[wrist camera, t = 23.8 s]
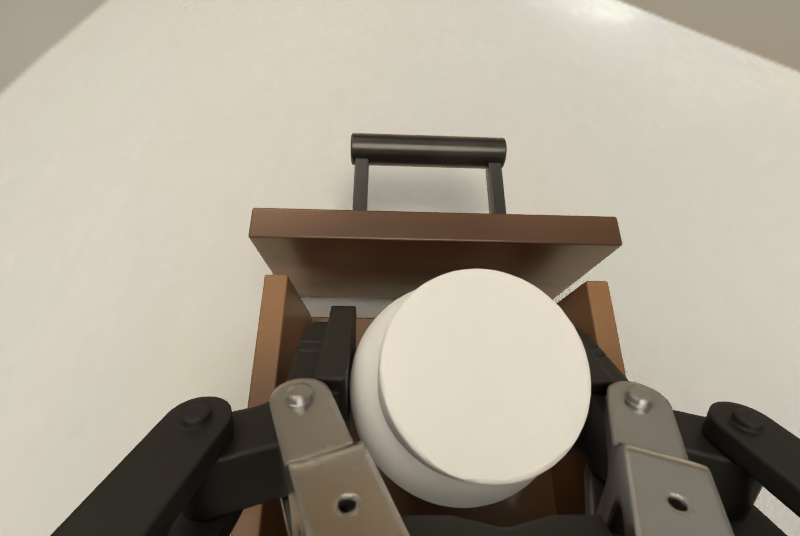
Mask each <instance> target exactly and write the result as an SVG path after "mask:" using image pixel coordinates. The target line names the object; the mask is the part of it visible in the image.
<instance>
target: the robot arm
mask: <svg viewBox="0 0 800 536" xmlns="http://www.w3.org/2000/svg"><path fill="white" fill-rule="evenodd" d="M574 327H575V329H576V331H577V333H578V335H579V337H580V339H581V341H582V343H583V346H584V348H585V352H586V355H587V359H588V363H589V369H590V377H591V397H590V405H589V410H588V415H587V418H586V421H585V423H584V426H583V428H582V430H581V432H580V434H579V436H578V438H577V440H576V441H575V443H574V444H573V446H572V448H571V449H570V450H569V451H568V452H567V455H585V457H586V459H587V463H586V466H585V470H584V493H585V515H550V516H546V517H543V518H539V519H536V520H532V521H529V522H526V523H522V524H519V525H515V526H512V527H498V526H494V525H490V524H486V523H482V522H477V521H473V520H469V519H465V518H461V517H456V516H452V515H401V516H400V514H399V512H398V510H397V508H396V506H395V504H394V502H393V500H392V498H391V496H390V494H389V492H388V489H387V487H386V485H385V483H384V481H383V479H382V477H381V475H380V473H379V471H378V469H377V467H376V465H375V463H374V461H373V459H372V457H371V455H370V453H369V450H368V449H367V447H366V445H365V444H364V443H363V442H362V441H359V442H356V443H354V441H353V439H352V437H351V435H350V433H349V427H350V417H351V406H350V395H349V384H350V374H351V367H352V363H353V359H354V356H355V353H356V306H332V307H331V311H330V315H329V320H328V322H313V323H312V324H311V325H310V326H308V327H307V328H306V329H305V330H304V332H303V334H302V337H301V340H300V343H299V346H298V349H297V352H296V355H295V358H294V361H293V364H292V367H291V370H290V373H289V376H288V379H287V382H284V383H283V384H281V385H279V386H278V387H277V388H276V389H275V390H274V391H273V392H272V394H271V396H270V399H269V401H268V402H266V403H264V404H262V405H259V406H255V407H252V408H247V409H243V410H238V411H233V412H232V410H231V406H230V404H229V403H228V402H227V401H225V400H224V399H221V398H218V397H199V398H195V399H191V400H188V401H186V402H184V403H181V404H180V405H178V406H176V407H175V408H173V409H172V410H171V411H170V412H169V413H167V414H166V416H165V417H164V418H163V419H162V420H161V421H160V422H159V423H158V424H157V425H156V426H155V427H154V428H153V429H152V430H151V431H150V432H149V433H148V434H147V435H146V436H145V437H144V438H143V439H142V441H141V442H140V443H139V444H138V445H137V446H136V447H135V448H134V449H133V450H132V451H131V452H130V453H129V454H128V455H127V456H126V457H125V458H124V459H123V460H122V461H121V462H120V463H119V465H118V466H117V467H116V468H115V469H114V470H113V471H112V472H111V473H110V474H109V475H108V476H107V477H106V478H105V479H104V480H103V481H102V482H101V483H100V484H99V485H98V486H97V487H96V488H95V490H94V491H93V492H92V493H91V494H90V495H89V496H88V497H87V498H86V499H85V500H84V501H83V502H82V503H81V504H80V505H79V506H78V507H77V508H76V509H75V510H74V511H73V512H72V514H71V515H70V516H69V517H68V518H67V519H66V520H65V521H64V522H63V523H62V524H61V525H60V526H59V527H58V528H57V529H56V530H55V531H54V532H53V533H52V534H51V535H50V536H230V534H231V532H232V530H233V528H234V527H235V525H236V523H237V521H238V519H239V518H240V516H241V514H242V512H243V510H244V509H246V508H249V507H253V506H256V505H259V504H263V503H266V502H269V501H273V500H276V499H279V498H280V501H281V506H282V510H283V515H284V519H285V524H286V529H287V533H288V536H787V535H786V534H785V533H784V532H783V531H782V530H781V529H780V528H778V527H777V526H776V525H775V524H774V523H773V522H772V521H771V520H770V519H769V518H767V517H766V516H765V515H764V514H763V513H762V512H761V511H760V510H759V509H758V508H756V507H755V506H754V505H753V504H754V502H755V500H756V498H757V496H758V494H759V493H760V491H761V489H762V487H765V488H766V489H767V490H768V491H769V492H770V493H772V494H773V495H774V496H775V497H776V498H777V499H779V500H780V501H781V502H782V503H783V504H785V505H786V506H787V507H788V508H789V509H790V510H792V511H793V512H794V513H795V514H796V515H797V516H799V517H800V439H799V438H798V437H796V436H795V435H793V434H792V433H790V432H789V431H787V430H786V429H785V428H783V427H782V426H780V425H779V424H777V423H776V422H775V421H773V420H772V419H770V418H769V417H767V416H766V415H764V414H762V413H760V412H758V411H756V410H754V409H752V408H749V407H747V406H744V405H741V404H737V403H732V402H716V403H714V404H712V405H711V406H710V408H709V411H708V413H707V416H706V417H702V416H698V415H693V414H689V413H684V412H680V411H675V410H672V407H671V405H670V403H669V402H668V400H667V399H666V398H665V397H664V396H662V395H661V394H660V393H658V392H657V391H655V390H653V389H652V388H649V387H647V386H645V385H642V384H639V383H635V382H630V381H628V380H627V378H626V377H625V376H624V375H623V374H622V373H621V371H620V370H619V369H618V368H617V367H616V365H615V364H614V363H613V362H612V361H611V359H610V358H609V357H606V354H605V352H604V351H603V350H602V349H601V348H599V345H598V344H597V343H596V342H595V341H594V339H593V338H592V337H591V336H590V335H589V334H587V333H586V332H584V331H583V330H581V329H579V328H578V327H576V326H574Z"/></svg>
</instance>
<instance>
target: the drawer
mask: <svg viewBox="0 0 800 536" xmlns="http://www.w3.org/2000/svg"><path fill="white" fill-rule="evenodd" d="M506 151H507V147H506V141H505V139H504V138H489V137H459V136H428V135H397V134H366V133H353V134H352V135H351V162H352V164H353V165H355V173H354V193H353V210H319V209H279V208H253V210H252V216H251V223H250V229H249V238H250V240H251V241H252V243H253V244H254V246H255V247H256V249H257V250H258V252H259V253H260V255H261V256H262V258H263V259H264V261H265V262H266V264H267V265H268V267H269V268H270V270H271V271H272V273H273V274H274V275H265V279H264V287H263V294H262V302H261V310H260V317H259V325H258V332H257V340H256V348H255V355H254V363H253V370H252V378H251V386H250V393H249V401H248V408H252V407H255V406H259V405H262V404H264V403H266V402H268V401H269V399H270V396H271V394H272V392H273V391H274V390H275V389H276V388H277V387H278V386H279V385H281V384H283V383H284V382H287V379H288V376H289V373H290V370H291V367H292V364H293V361H294V358H295V355H296V352H297V349H298V346H299V343H300V340H301V337H302V334H303V332H304V330H305V329H306V328H307V327H308V326H310V325H311V324H312V323H313V322H328V320H329V317H311V315H310V313H309V311H308V310H307V308H306V306H305V304H304V303H303V301H302V299H301V298H300V296H301V297H361V298H400V297H402V296H403V295H405V294H407V293H409V292H412V291H414V290H416V289H417V288H419V287H420V286H421V285H423V284H424V283H426V282H428V281H430V280H432V279H434V278H436V277H438V276H440V275H443V274H446V273H449V272H452V271H458V270H464V269H489V270H496V271H500V272H504V273H507V274H510V275H513V276H515V277H518V278H521V279H523V280H525V281H527V282H528V283H530V284H532V285H534V286H535V287H537V288H539V289H540V290H541V291H543V292H544V293H545V294H546V295H547V296H549V297H550V298H551V299H552V300H553V299H554V298H555V297H556V296H558V295H559V294H560V293H562V292H563V291H564V290H565V289H567V288H568V287H569V286H570V285H572V284H573V283H574V282H576V281H577V280H578V279H579V278H581V277H582V276H583V275H585V274H586V273H587V272H588V271H590V270H591V269H592V268H593V267H595V266H596V265H597V264H599V263H600V262H601V261H602V260H604V259H605V258H606V257H607V256H609V255H610V254H611V253H613V252H614V251H615V250H616V249H618V248H619V247H620V246H621V245H622V241H621V236H620V232H619V227H618V222H617V218H616V217H600V216H560V215H520V214H506V207H505V197H504V188H503V178H502V167H503V166H504V163H505V159H506ZM369 165H378V166H412V167H446V168H480V169H486V180H487V191H488V202H489V214H479V213H439V212H399V211H367V205H368V178H369ZM557 305H558V306H559V307H560V308H561V309H562V310H563V312H564V313H565V314H566V316H567V317H568V319H569V320H570V321H571V323H572V324H573V326H576V327H578V328H579V329H581V330H583V331H584V332H586V333H587V334H589V335H590V336H591V337H592V338H593V339H594V341H595V342H596V343H597V344H598V345H599V348H601V349H602V350H603V351H604V352H605V354H606V357H609V358H610V359H611V361H612V362H613V363H614V364H615V365H616V367H617V368H618V369H619V370H620V371H621V373H622V374H623V375H624V376H625V377H626V375H625V369H624V364H623V359H622V354H621V349H620V344H619V338H618V333H617V328H616V323H615V318H614V313H613V307H612V302H611V297H610V292H609V287H608V283H607V282H606V281H586V282H585V283H584V284H582V285H581V286H579V287H578V288H577V289H575V290H574V291H573V292H571V293H570V294H569V295H567V296H566V297H565V298H563V299H562V300H561V301H559V302H558V303H557ZM374 319H375V318H356V350H357V348H358V345H359V343H360V341H361V339H362V337H363V335H364V333H365V332H366V330H367V328H368V327H369V326H370V324H371V323H372V322H373V320H374ZM349 433H350V435H351V437H352V439H353V441H354V443H356V442H359V441H361V440H360V438H359V436H358V433H357V431H356V428H355V424H354V421H353V417H352V412H351V417H350V427H349ZM374 463H375V462H374ZM586 463H587V459H586V457H585V455H567V454H566V455H565V456H564V457H563V458H562V459H561V460H560V461H558V462H557V463H556V464H555V465H554V466H552V467H551V468H549V469H548V470H546V471H545V472H543V473H542V474H540V475H538V476H537V477H536V478H535V479H534V480H533V481H532V482H530V483H529V484H528V485H527V486H526V487H524V488H523V489H521V490H520V491H518V492H517V493H515V494H514V495H512V496H510V497H508V498H506V499H504V500H502V501H499V502H496V503H493V504H489V505H485V506H480V507H472V508H455V507H447V506H441V505H437V504H434V503H431V502H427V501H425V500H423V499H420V498H418V497H416V496H414V495H412V494H410V493H409V492H407V491H405V490H404V489H402V488H401V487H400V486H398V485H397V484H396V483H395V482H393V481H392V480H391V479H390V478H389V477H387V476H386V475H385V474H384V473H383V472H382V470H381V469H380V468H379V467H378V466H377V465H376V464H375V465H376V467H377V469H378V471H379V473H380V475H381V477H382V479H383V481H384V483H385V485H386V487H387V489H388V492H389V494H390V496H391V498H392V500H393V502H394V504H395V506H396V508H397V510H398V512H399V514H400V516H401V515H452V516H456V517H461V518H465V519H469V520H473V521H477V522H482V523H486V524H490V525H494V526H498V527H512V526H515V525H519V524H522V523H526V522H529V521H532V520H536V519H539V518H543V517H546V516H550V515H585V493H584V470H585V466H586ZM231 536H288V533H287V529H286V524H285V519H284V515H283V510H282V506H281V501H280V498H279V499H276V500H273V501H269V502H266V503H263V504H259V505H256V506H253V507H249V508H246V509H244V510H243V512H242V514H241V516H240V518H239V519H238V521H237V523H236V525H235V527H234V528H233V530H232V532H231Z"/></svg>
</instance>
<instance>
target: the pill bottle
mask: <svg viewBox="0 0 800 536" xmlns="http://www.w3.org/2000/svg"><path fill="white" fill-rule="evenodd" d="M349 395H350V406H351V412H352V417H353V421H354V424H355V428H356V431H357V433H358V436H359V438H360V440H361V441H362V442H363V443H364V444H365V445H366V447H367V449H368V450H369V453H370V455H371V457H372V459H373V461H374V462H375V464H376V465H377V466H378V467H379V468H380V469H381V470H382V472H383V473H384V474H385V475H386V476H387V477H389V478H390V479H391V480H392V481H393V482H395V483H396V484H397V485H398V486H400V487H401V488H402V489H404V490H405V491H407V492H409V493H410V494H412V495H414V496H416V497H418V498H420V499H423V500H425V501H427V502H431V503H434V504H437V505H441V506H447V507H455V508H472V507H480V506H485V505H489V504H493V503H496V502H499V501H502V500H504V499H506V498H508V497H510V496H512V495H514V494H515V493H517V492H518V491H520V490H521V489H523V488H524V487H526V486H527V485H528V484H529V483H530V482H532V481H533V480H534V479H535V478H536V477H537V476H538V475H540V474H542V473H543V472H545V471H546V470H548V469H549V468H551V467H552V466H554V465H555V464H556V463H557V462H558V461H560V460H561V459H562V458H563V457H564V456H565V455H566V454H567V452H568V451H569V450H570V449H571V448H572V446H573V444H574V443H575V441H576V440H577V438H578V436H579V434H580V432H581V430H582V428H583V426H584V423H585V421H586V418H587V415H588V410H589V405H590V397H591V377H590V369H589V363H588V359H587V355H586V352H585V348H584V346H583V343H582V341H581V339H580V337H579V335H578V333H577V331H576V329H575V327H574V326H573V324H572V323H571V321H570V320H569V319H568V317H567V316H566V314H565V313H564V312H563V310H562V309H561V308H560V307H559V306H558V305H557V304H556V303H555V302H554V301H553V300H552V299H551V298H550V297H549V296H547V295H546V294H545V293H544V292H543V291H541V290H540V289H539V288H537V287H535V286H534V285H532V284H530V283H528V282H527V281H525V280H523V279H521V278H518V277H515V276H513V275H510V274H507V273H504V272H500V271H496V270H489V269H464V270H458V271H452V272H449V273H446V274H443V275H440V276H438V277H436V278H434V279H432V280H430V281H428V282H426V283H424V284H423V285H421V286H420V287H419V288H417V289H416V290H414V291H412V292H409V293H407V294H405V295H403V296H402V297H400V298H398V299H397V300H395V301H394V302H392V303H391V304H390V305H388V306H387V307H386V308H385V309H384V310H383V311H382V312H381V313H380V314H379V315H378V316H377V317H376V318H375V319H374V320H373V322H372V323H371V324H370V326H369V327H368V328H367V330H366V332H365V333H364V335H363V337H362V339H361V341H360V343H359V345H358V348H357V350H356V353H355V356H354V359H353V363H352V367H351V374H350V384H349Z"/></svg>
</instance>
